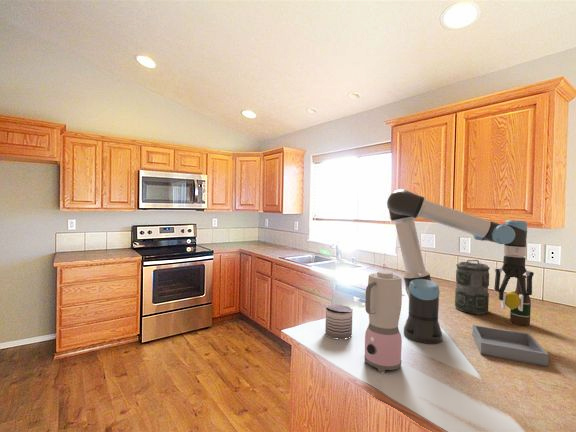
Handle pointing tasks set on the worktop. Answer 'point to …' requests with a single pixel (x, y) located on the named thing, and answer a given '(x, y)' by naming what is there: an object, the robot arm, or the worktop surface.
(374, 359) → the blender
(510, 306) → the lemon
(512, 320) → the beer bottle
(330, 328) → the can
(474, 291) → the canister
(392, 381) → the worktop surface
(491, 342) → the box
